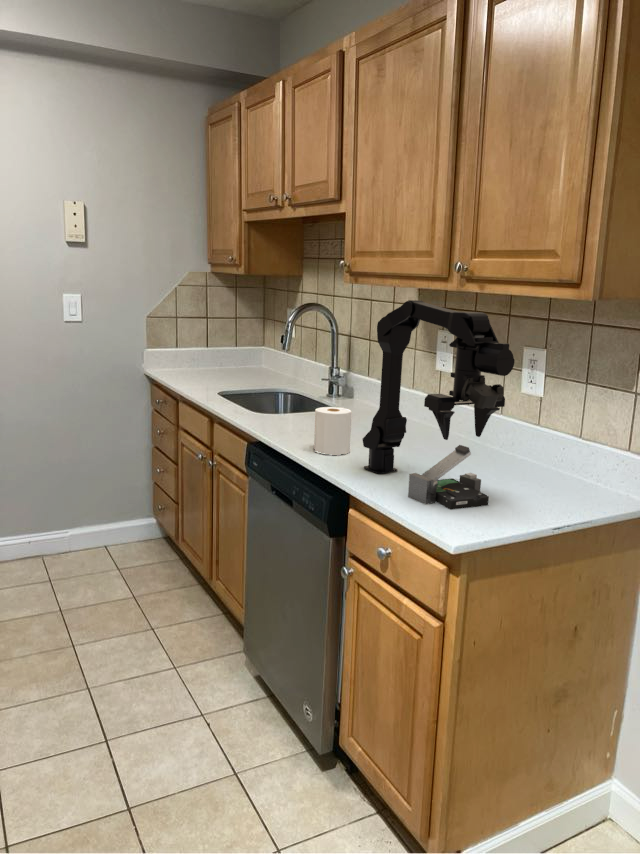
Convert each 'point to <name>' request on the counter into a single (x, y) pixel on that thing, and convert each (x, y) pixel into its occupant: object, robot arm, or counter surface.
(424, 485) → the hinge bracket
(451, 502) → the disk drive
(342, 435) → the toilet paper
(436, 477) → the grey long flat bar
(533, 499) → the counter surface
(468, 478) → the lug
